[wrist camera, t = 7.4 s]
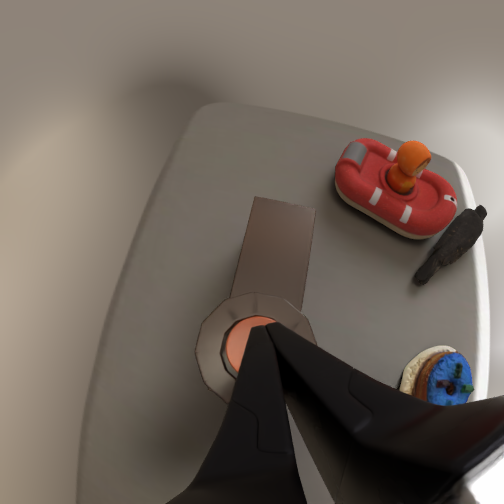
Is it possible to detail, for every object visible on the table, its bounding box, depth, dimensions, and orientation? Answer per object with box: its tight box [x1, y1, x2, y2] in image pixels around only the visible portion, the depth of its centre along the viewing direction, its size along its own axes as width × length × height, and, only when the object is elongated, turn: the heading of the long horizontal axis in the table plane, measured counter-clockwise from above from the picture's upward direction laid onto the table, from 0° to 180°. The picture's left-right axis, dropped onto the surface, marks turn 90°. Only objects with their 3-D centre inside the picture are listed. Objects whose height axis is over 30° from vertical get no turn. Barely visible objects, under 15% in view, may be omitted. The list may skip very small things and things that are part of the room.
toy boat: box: [335, 138, 457, 239], centre depth 23 cm, size 8×12×8 cm, turn 60°
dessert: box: [399, 346, 474, 406], centre depth 19 cm, size 8×7×6 cm
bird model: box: [415, 205, 487, 285], centre depth 24 cm, size 3×14×3 cm, turn 128°
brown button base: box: [195, 196, 317, 404], centre depth 19 cm, size 12×6×8 cm, turn 168°
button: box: [226, 316, 276, 373], centre depth 13 cm, size 3×3×2 cm
